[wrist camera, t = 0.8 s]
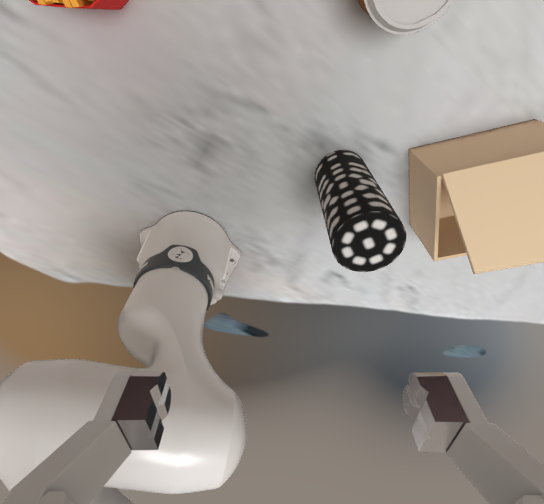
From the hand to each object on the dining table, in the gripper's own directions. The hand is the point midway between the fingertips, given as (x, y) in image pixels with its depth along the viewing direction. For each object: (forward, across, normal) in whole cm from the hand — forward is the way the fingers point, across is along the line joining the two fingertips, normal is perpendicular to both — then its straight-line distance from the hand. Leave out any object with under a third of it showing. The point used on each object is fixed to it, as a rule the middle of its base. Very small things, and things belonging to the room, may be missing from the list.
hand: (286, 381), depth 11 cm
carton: (+44, +31, -11) cm, 55 cm away
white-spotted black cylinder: (+45, +10, -10) cm, 47 cm away
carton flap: (+29, +30, -8) cm, 42 cm away
